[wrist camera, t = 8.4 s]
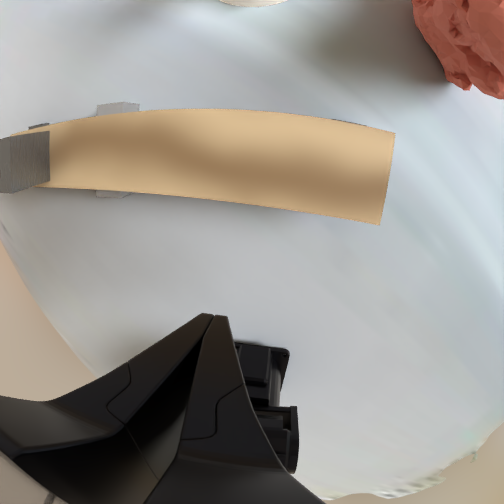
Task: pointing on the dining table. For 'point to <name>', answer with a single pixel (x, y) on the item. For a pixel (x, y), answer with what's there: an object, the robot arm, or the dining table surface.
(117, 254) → the dining table surface
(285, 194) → the beam
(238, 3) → the figurine
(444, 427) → the dining table surface
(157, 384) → the robot arm
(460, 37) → the anatomical model
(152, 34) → the dining table surface
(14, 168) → the block
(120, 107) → the stand
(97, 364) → the dining table surface
